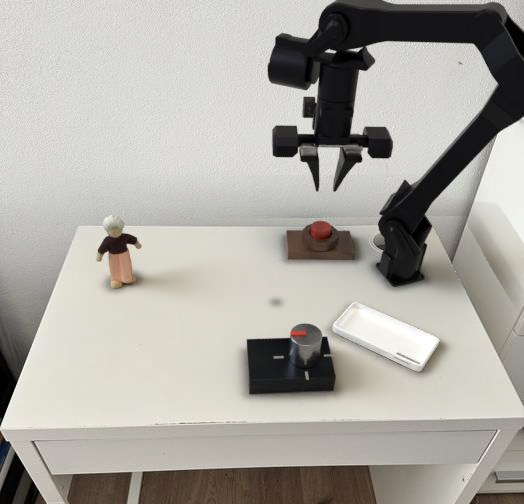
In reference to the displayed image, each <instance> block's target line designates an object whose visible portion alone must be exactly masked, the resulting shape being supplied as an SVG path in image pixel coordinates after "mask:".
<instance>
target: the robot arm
mask: <svg viewBox="0 0 524 504" xmlns="http://www.w3.org/2000/svg"><path fill="white" fill-rule="evenodd" d="M317 27H318V28H317V29H316V31H315V32H314V33H313V34H312V35H311V37H310V38H305V37H299V36H294V35H291V34H290V33H286V32H281V33H279V34H277V35H276V36H275V37H274V45H273V48H272V50H271V53H270V57H269V62H267V79H268V81H269V83H270V84H272V85H278V86H283V87H287V88H292V89H297V90H302V91H308V90H309V89H310V88H311V86H312V85H315V84H317V94H316V97H315V96H303V97H302V98H303V99H302V113H301V116H302V118H303V119H312V121H311V129H312V131H313V133H298V132H299V131H298V125H286V124H285V125H283V124H281V125H279V124H278V125H275V126H274V127H273V128H272V129H271V146H272V147H271V149H272V150H271V151H272V156H273V157H275V158H294V157H295V156H296V155H298V153H299V161H300V162H302V163H306V164H307V167H308V169H309V171H310V173H311V177H312V180H313V184H314V189H315V192H319V190H320V157H319V156H320V155H319V151H318V150H319V148H339V151H338V152H339V153H338V160H337V164H336V168H335V173H334V177H333V182H332V191H333V192H337V190H338V189H339V187H340V186H341V184H342V182H343V181H344V180H345V178H346V176H347V175H348V174H349V173H350V171H351V170H352V169H353V167H355V165H357V164H361V163H362V162H363V155H362V152H363V151H364V149H367V151H366V152H367V154H368V156H369V157H370V158H371V159H386V160H388V159H390V158H392V154H393V150H394V141H393V138H392V136H391V133H390V130H389V129H388V128H387V127H386V126H364V127H363V129H362V134H360V133H352V125H353V119H354V113H355V104H356V96H357V89H358V82H359V75H360V71H363V72H367V71H368V70H370V68H372V66H373V65H375V63H376V58H375V57H374V56H373V55H372V54H371V53H370V52H369V50H368V46H371V45H375V44H380V43H385V42H392V43H393V42H396V43H400V42H401V43H429V44H430V43H432V44H433V43H434V44H435V43H436V44H468V45H474V46H475V48H476V49H477V50H478V52H479V53H480V55H481V57H482V59H483V61H484V63H485V65H486V67H487V69H488V71H489V73H490V75H491V76H492V78H493V79H494V81H495V82H496V85H495V87H494V89H493V90H492V91H491V93H490V95H489V97H488V98H487V100H486V102H485V103H484V105H483V107H481V109H480V110H479V111H478V112H477V114H475V116H474V117H473V118H472V119H471V121H469V122H468V124H467V125H466V126H465V127H464V128H463V130H462V131H460V133H459V134H458V135H457V137H455V139H454V140H453V141H452V142H451V143H450V144H449V145H448V147H447V148H446V149H445V150H444V151H443V152H442V153H441V154H440V155H439V156H438V158H437V159H436V160H435V161H434V162H433V163H432V165H431V166H430V167H429V168H428V169H427V170H426V172H425V173H424V174H423V175H422V176H421V177H420V178H419V179H418V180H417V181H415V182H412V183H411V184H410V182H408V181H407V180H406V179H403V181H402V182H401V183H400V186H399V188H398V189H397V190H396V191H395V192H393V193H391V194H390V195H389V197H388V199H387V200H386V201H385V202H384V205H383V206H382V208H381V210H380V211H379V212H378V214H379V216H380V215H381V216H380V218H379V219H378V222H377V226H378V231H379V233H380V235H381V236H382V237H383V240H384V246H385V247H384V250H382V252H381V257H380V261H379V262H376V263H375V267H376V269H377V270H378V271H379V272H380V273H381V275H382V276H383V277H384V278H385V279H386V281H387V282H388V283H389V284H390V285H391V286H392V287H398V286H403V285H407V284H412V283H415V282H419V281H423V280H425V277H426V276H425V274H424V273H423V272H422V271H421V269H422V266H423V262H424V259H425V256H426V251H427V248H428V244H427V243H426V241H427V239H428V237H429V235H430V233H431V231H432V229H433V224H432V222H431V221H430V219H429V218H428V217H427V215H426V213H427V212H428V210H429V209H430V207H431V205H432V204H433V203H434V202H435V201H436V199H437V198H439V196H441V194H442V193H443V192H444V191H445V190H446V189H447V188H448V187H449V186H450V185H451V184H452V183H453V182H454V181H455V180H456V178H457V177H458V176H459V175H460V174H461V173H462V172H463V171H464V170H465V169H466V168H467V167H468V166H469V165H470V164H471V163H472V162H473V161H474V159H475V158H476V157H477V156H478V155H479V154H480V153H481V152H482V151H483V150H484V149H485V148H486V147H487V146H488V145H489V144H490V142H492V141H493V140H494V139H495V137H496V136H497V135H498V134H499V133H501V132H502V131H504V130H505V129H507V128H509V127H511V126H512V125H514V124H516V123H518V122H519V121H520V120H522V119H523V118H524V29H523V28H522V27H521V26H519V24H518V23H516V21H514V19H513V18H512V17H511V16H510V14H509V13H508V10H507V9H506V7H505V6H504V5H503V4H502V3H500V2H497V1H489V2H487V3H486V2H485V3H453V4H452V3H393V2H388V1H386V0H334V1H332V2H331V3H329V4H327V5H326V6H325V8H324V9H323V10H322V11H321V13H320V15H319V18H318V25H317ZM356 49H359V50H358V51H357V50H356ZM329 50H330V51H334V52H328V51H329Z"/></svg>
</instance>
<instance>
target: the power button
mask: <svg viewBox="0 0 524 504" xmlns="http://www.w3.org/2000/svg"><path fill="white" fill-rule="evenodd" d="M311 224H312V225H311V236H312V237H313V238H316V239H328V238H329V237H330V234H331V223H329V222H328V221H325V220H316V221H314V222H312V223H311Z"/></svg>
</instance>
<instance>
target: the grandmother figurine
mask: <svg viewBox="0 0 524 504" xmlns="http://www.w3.org/2000/svg"><path fill="white" fill-rule="evenodd" d="M125 224H126V223H125V221H124V220H123V219H122V218H120V216H118V215H115V214H111V215H108V216H107V217H105V218H103V221H102V227H103V230H104V231H105V232H106V233H107V236H105V237H104V238H103V240H102V242H101V243H100V245H99V246H98V248H97V252H96V257H95V261H96V262H98V263H101V262H102V261H103V257H104V255H105V254H106V253H107V258H108V259H107V261H108V270H109V274H110V287H111V288H112V289H119V288H121V287H122V286H123V283H124V284H127V285H128V284H134V283H135V282H136V281H137V278H136V276H135V275H133V271H134V270H133V263H132V258H131V254H130V253H131V252H130V249H129V248H128V245H131V246H132V245H133V246H134V248H135V249H136V250H140V249H142V247H143V246H142V243H140V241H139V239H138V237H137V236H135V235H134V234H133V235H132V234H130V233H125V232H124V228H125Z"/></svg>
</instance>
